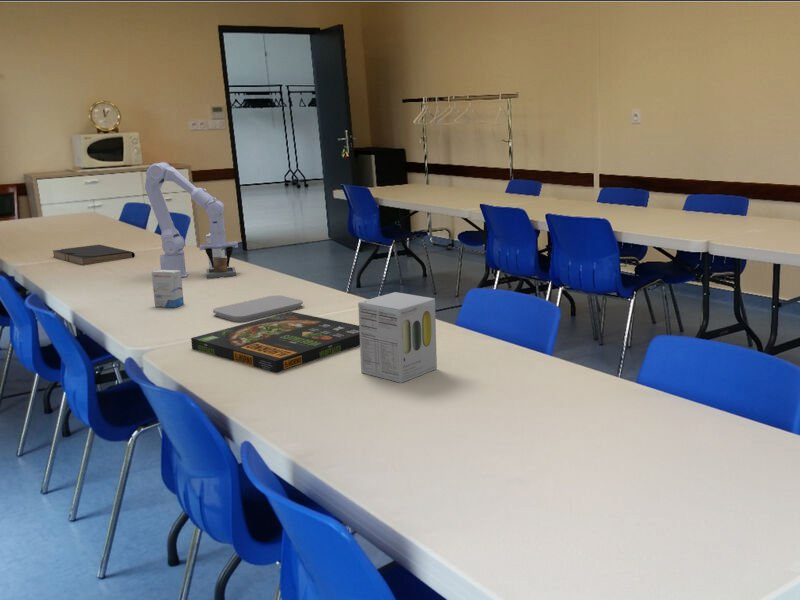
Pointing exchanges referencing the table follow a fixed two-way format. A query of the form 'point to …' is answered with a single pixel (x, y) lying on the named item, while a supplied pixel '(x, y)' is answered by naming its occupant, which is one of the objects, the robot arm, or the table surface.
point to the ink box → (167, 288)
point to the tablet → (257, 308)
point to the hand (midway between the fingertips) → (220, 266)
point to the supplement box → (397, 336)
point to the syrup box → (215, 251)
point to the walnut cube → (220, 265)
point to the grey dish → (229, 273)
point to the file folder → (92, 254)
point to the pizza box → (280, 341)
